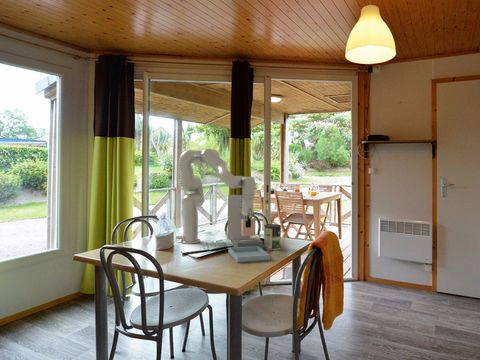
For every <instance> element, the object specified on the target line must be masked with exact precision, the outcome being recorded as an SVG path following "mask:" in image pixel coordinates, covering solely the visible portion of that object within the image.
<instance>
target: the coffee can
mask: <svg viewBox="0 0 480 360" xmlns="http://www.w3.org/2000/svg"><path fill="white" fill-rule="evenodd" d="M263 230H264V231H263V232H264V234H263V235H264V236H263V237H264V241H263V249H265V250H269V251H277V250H281V249H282V248H281V247H282V245H281V244H282V242H281V239H282V236H281V235H282V232H281V231H282V225H280V224H277V223H266V224H264V229H263Z"/></svg>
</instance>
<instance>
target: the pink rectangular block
mask: <svg viewBox="0 0 480 360" xmlns="http://www.w3.org/2000/svg"><path fill="white" fill-rule="evenodd" d="M241 235H242V236H250V237H253V236H254V237H255V236H256V219H255V218H251V227H250V228H246V219H242V224H241Z"/></svg>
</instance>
